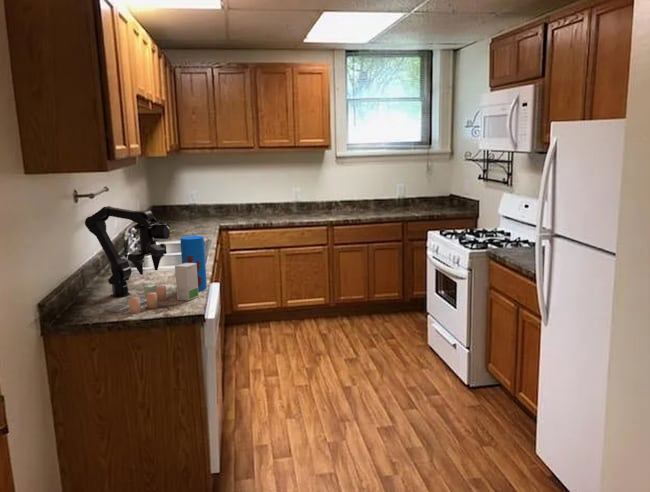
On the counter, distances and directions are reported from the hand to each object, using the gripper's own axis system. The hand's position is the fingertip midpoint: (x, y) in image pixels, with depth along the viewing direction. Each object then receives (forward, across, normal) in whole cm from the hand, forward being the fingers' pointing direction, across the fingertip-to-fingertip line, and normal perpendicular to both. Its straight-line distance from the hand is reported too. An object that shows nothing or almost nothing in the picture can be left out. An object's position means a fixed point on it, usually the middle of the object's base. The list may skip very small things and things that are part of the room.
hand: (149, 272), depth 246 cm
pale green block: (+11, 0, 0) cm, 11 cm away
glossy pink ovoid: (+11, -3, -9) cm, 15 cm away
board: (+11, -15, -2) cm, 19 cm away
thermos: (+11, +18, -11) cm, 24 cm away
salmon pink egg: (+11, -13, -13) cm, 22 cm away
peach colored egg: (+11, -21, -11) cm, 26 cm away
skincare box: (+11, +4, -18) cm, 22 cm away
